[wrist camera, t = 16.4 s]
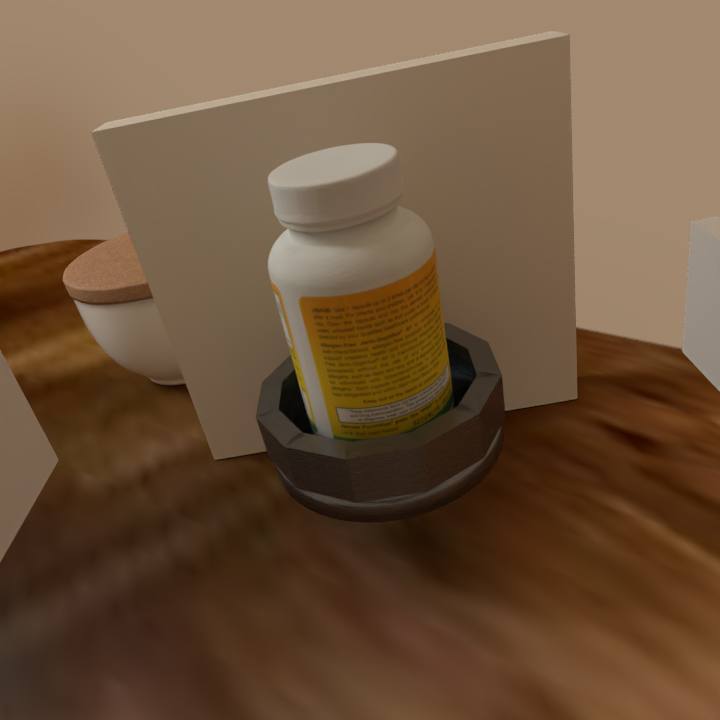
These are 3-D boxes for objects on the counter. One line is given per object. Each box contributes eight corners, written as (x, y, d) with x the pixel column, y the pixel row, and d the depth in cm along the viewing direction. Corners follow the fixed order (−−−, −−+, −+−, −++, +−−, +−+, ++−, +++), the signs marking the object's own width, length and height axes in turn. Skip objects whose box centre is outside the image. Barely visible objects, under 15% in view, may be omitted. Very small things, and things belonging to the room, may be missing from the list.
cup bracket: (533, 553, 22) (524, 429, 20) (285, 592, 23) (244, 476, 20) (477, 389, 31) (465, 288, 29) (299, 420, 32) (272, 323, 29)
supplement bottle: (285, 431, 25) (209, 183, 20) (385, 364, 28) (338, 132, 23) (383, 488, 21) (319, 202, 16) (487, 405, 24) (458, 138, 19)
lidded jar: (157, 325, 49) (111, 201, 44) (294, 315, 46) (259, 182, 41) (78, 410, 40) (8, 267, 35) (241, 405, 37) (189, 248, 32)
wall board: (577, 398, 32) (569, 34, 24) (214, 459, 33) (90, 132, 25) (564, 376, 33) (553, 30, 25) (220, 435, 35) (106, 122, 27)
